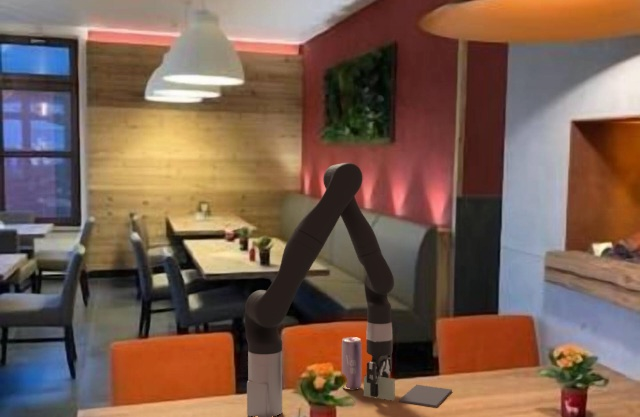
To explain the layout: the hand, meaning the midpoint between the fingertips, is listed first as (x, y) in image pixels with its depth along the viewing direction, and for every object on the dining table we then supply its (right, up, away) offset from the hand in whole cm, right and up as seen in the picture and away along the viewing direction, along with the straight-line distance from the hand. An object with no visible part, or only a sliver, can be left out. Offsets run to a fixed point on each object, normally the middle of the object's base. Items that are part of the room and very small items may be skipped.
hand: (379, 392), depth 195 cm
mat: (+14, -2, +1) cm, 14 cm away
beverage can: (-8, -1, +9) cm, 12 cm away
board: (0, -2, 0) cm, 2 cm away
